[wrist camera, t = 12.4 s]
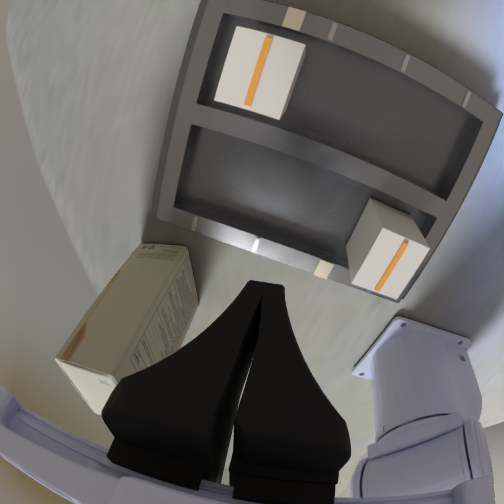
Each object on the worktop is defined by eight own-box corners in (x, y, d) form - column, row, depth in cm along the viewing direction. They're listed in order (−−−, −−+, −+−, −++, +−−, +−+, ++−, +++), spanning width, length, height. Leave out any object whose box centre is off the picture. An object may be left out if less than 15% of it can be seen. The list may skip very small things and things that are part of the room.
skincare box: (139, 241, 24) (48, 353, 14) (189, 244, 24) (110, 372, 13) (155, 304, 28) (91, 415, 17) (200, 309, 27) (147, 433, 17)
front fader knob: (306, 52, 14) (305, 44, 11) (285, 110, 16) (278, 120, 13) (252, 36, 14) (235, 25, 11) (234, 94, 16) (212, 100, 13)
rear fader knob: (411, 215, 18) (431, 250, 14) (385, 261, 20) (397, 301, 16) (370, 197, 18) (383, 229, 14) (345, 246, 20) (351, 285, 16)
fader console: (494, 110, 14) (514, 117, 12) (400, 289, 22) (406, 310, 20) (211, -7, 14) (197, -17, 12) (158, 203, 22) (143, 219, 20)
